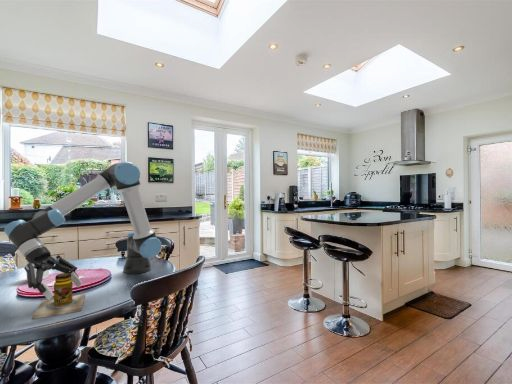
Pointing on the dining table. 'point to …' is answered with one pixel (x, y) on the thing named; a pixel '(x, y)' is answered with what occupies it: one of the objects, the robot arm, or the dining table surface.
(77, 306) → the board
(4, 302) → the dining table surface
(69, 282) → the condiment
